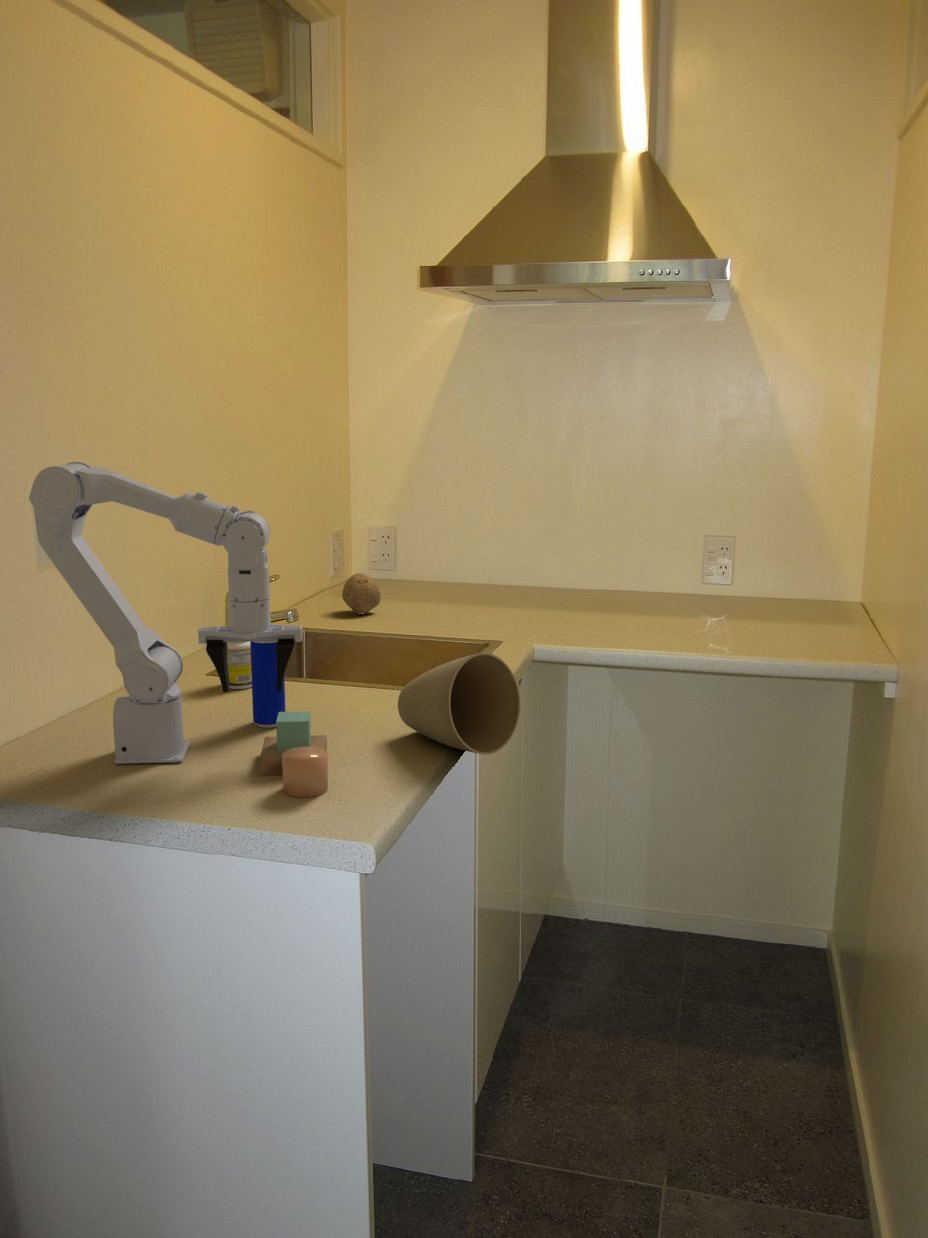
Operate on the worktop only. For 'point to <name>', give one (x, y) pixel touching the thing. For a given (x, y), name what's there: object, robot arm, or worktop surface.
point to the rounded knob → (305, 772)
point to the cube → (293, 730)
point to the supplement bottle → (239, 665)
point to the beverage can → (265, 684)
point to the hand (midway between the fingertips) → (253, 689)
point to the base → (273, 759)
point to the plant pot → (464, 703)
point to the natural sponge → (361, 593)
